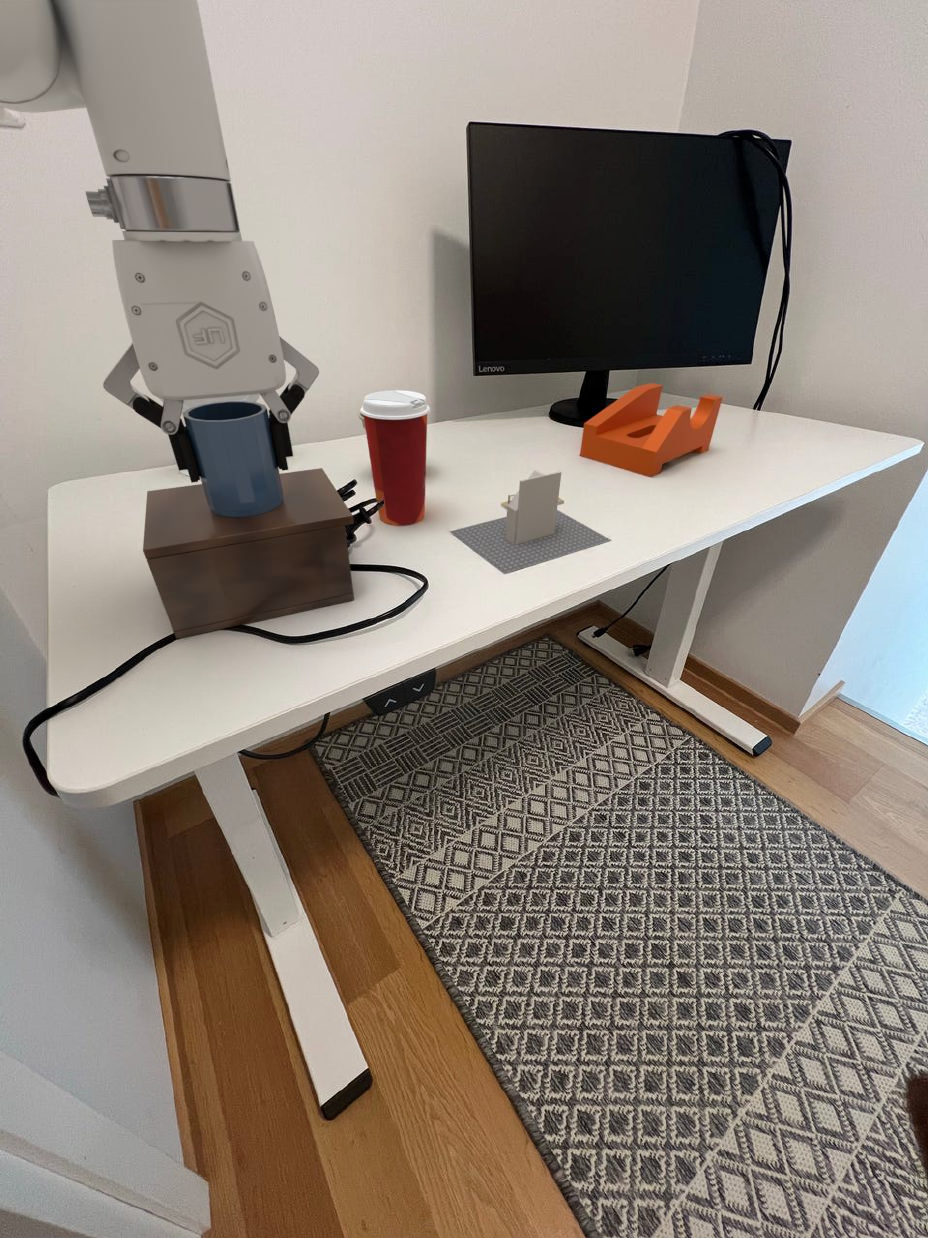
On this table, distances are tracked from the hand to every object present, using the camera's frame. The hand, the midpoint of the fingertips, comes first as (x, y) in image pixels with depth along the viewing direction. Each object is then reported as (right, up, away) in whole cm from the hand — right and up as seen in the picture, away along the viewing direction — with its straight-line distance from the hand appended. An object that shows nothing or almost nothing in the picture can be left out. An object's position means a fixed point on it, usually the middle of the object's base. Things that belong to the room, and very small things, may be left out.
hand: (239, 469), depth 47 cm
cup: (0, -3, +2) cm, 3 cm away
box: (-1, -10, +7) cm, 12 cm away
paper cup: (+12, 0, +20) cm, 23 cm away
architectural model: (+27, -4, +16) cm, 32 cm away
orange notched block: (+49, +14, +41) cm, 65 cm away
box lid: (0, -3, +2) cm, 4 cm away
